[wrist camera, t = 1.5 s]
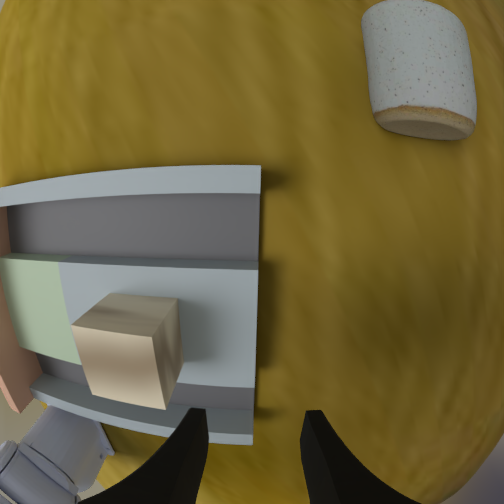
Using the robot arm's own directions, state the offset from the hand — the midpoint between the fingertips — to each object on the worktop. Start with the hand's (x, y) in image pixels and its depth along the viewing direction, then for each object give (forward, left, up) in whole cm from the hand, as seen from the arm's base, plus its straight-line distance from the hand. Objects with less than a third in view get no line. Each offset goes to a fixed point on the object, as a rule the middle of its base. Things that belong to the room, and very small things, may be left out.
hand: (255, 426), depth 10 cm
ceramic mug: (+18, -11, -11) cm, 24 cm away
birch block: (0, +8, -8) cm, 11 cm away
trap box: (0, +12, -10) cm, 16 cm away
